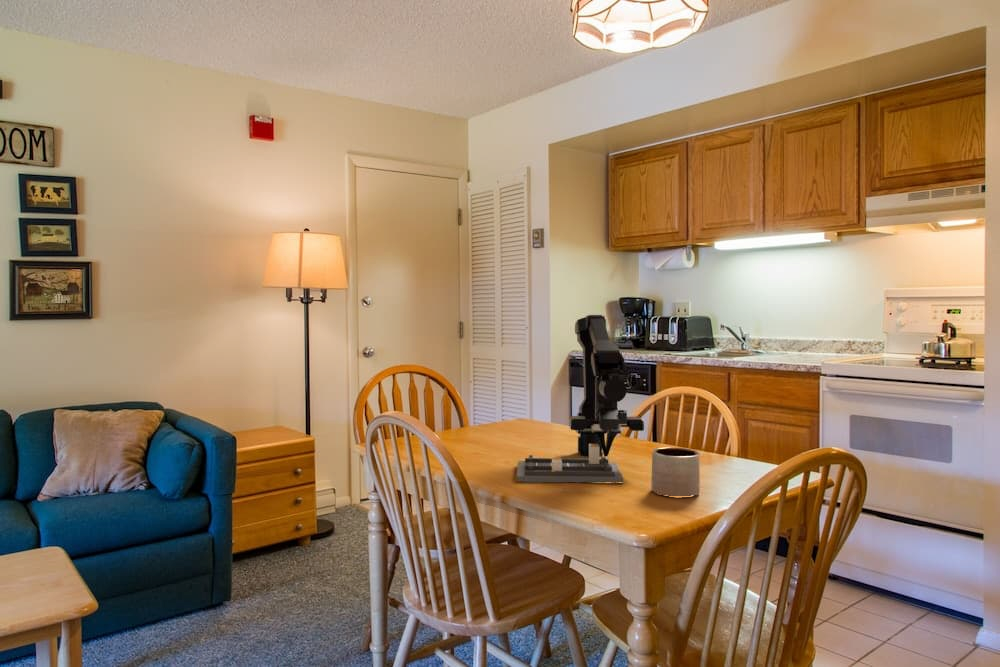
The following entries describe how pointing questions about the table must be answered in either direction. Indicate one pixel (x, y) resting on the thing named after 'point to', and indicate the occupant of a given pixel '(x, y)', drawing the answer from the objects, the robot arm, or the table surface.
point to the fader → (594, 454)
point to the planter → (675, 471)
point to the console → (567, 470)
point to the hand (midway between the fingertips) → (605, 456)
